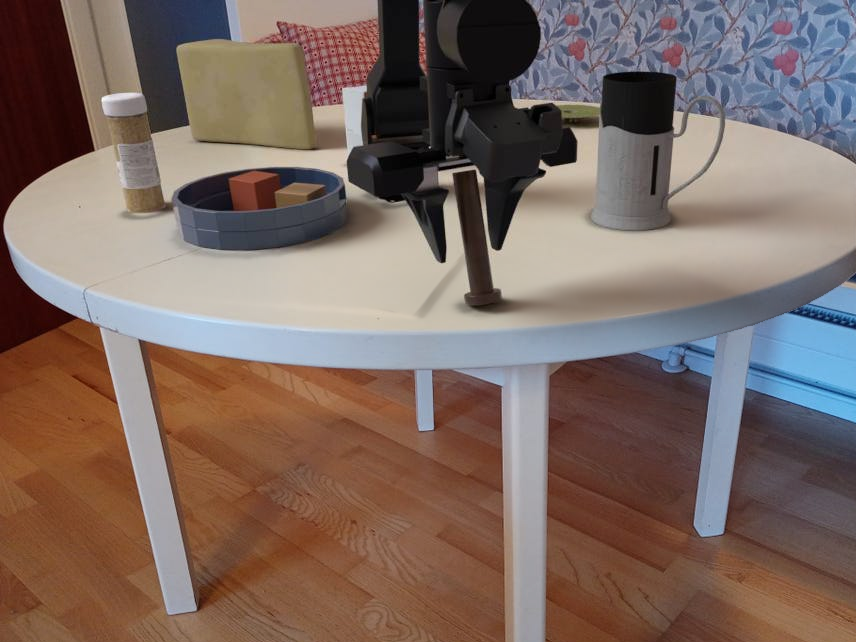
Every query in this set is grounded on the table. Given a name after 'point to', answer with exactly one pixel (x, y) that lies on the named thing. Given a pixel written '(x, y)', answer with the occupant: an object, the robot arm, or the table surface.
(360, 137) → the small box
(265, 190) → the terracotta block
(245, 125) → the cheese
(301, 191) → the wood block
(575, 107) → the olive green disc
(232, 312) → the table surface
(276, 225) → the bowl
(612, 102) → the glass holder
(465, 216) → the stirring stick
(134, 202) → the sprinkles bottle
